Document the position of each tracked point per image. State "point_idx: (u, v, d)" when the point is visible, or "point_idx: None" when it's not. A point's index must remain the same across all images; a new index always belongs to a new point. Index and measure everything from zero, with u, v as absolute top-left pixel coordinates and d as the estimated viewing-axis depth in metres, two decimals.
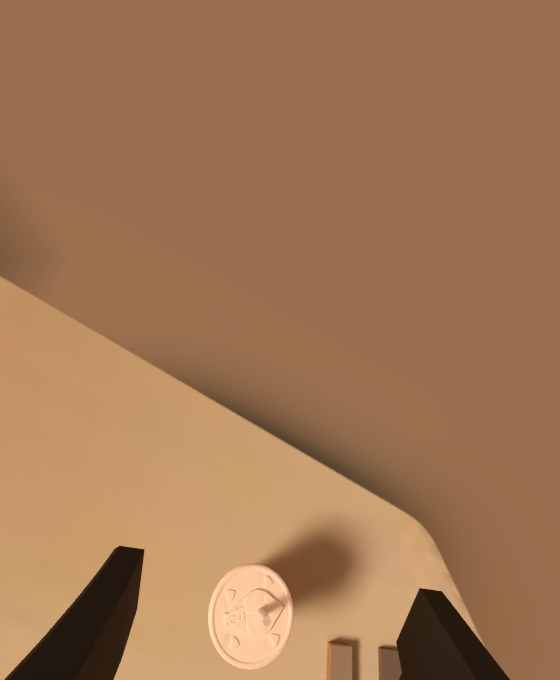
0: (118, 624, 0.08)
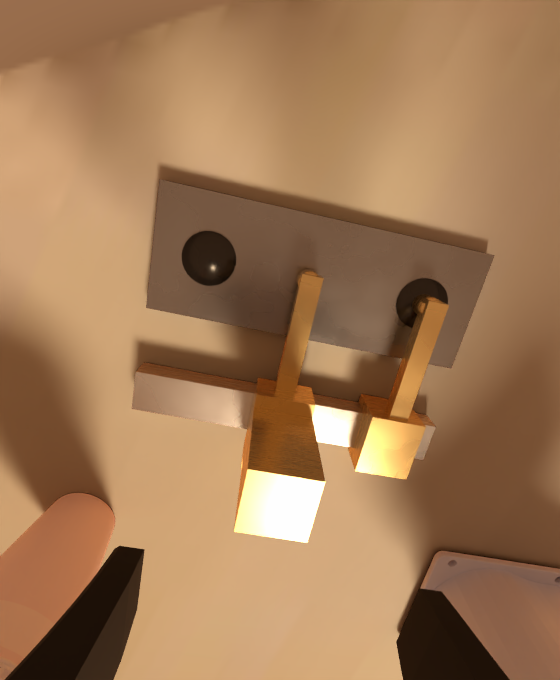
0: (118, 624, 0.08)
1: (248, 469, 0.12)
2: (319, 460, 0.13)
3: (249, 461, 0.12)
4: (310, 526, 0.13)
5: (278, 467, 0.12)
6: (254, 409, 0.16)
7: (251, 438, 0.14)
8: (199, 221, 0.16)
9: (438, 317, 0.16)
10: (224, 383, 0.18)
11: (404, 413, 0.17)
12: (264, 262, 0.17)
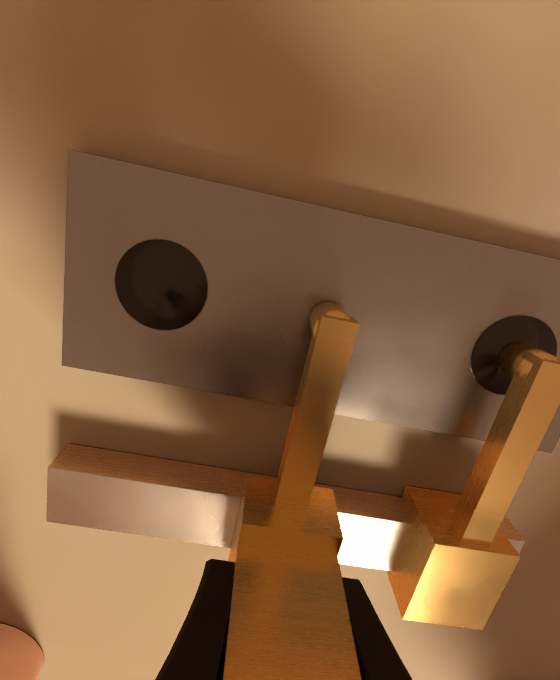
0: None
1: None
2: None
3: None
4: None
5: None
6: (238, 548, 0.09)
7: (228, 646, 0.07)
8: (142, 224, 0.09)
9: (556, 387, 0.09)
10: (194, 478, 0.12)
11: (486, 535, 0.11)
12: (255, 291, 0.10)
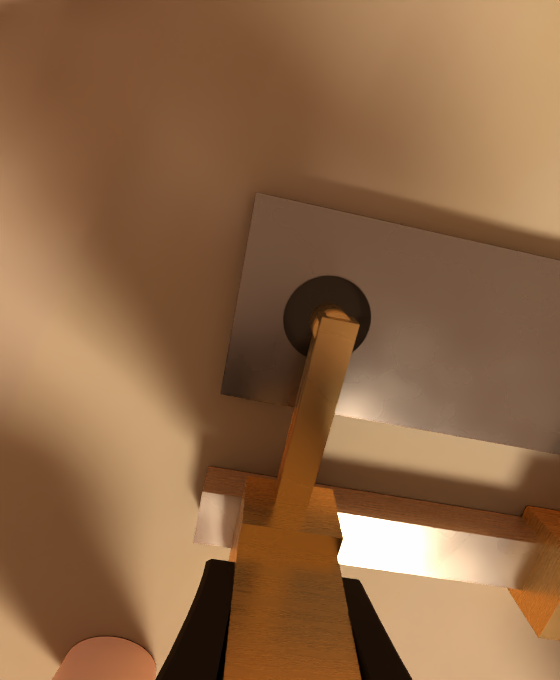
0: None
1: None
2: None
3: None
4: None
5: None
6: (238, 548, 0.09)
7: (228, 645, 0.07)
8: (316, 261, 0.10)
9: None
10: None
11: None
12: (415, 324, 0.10)
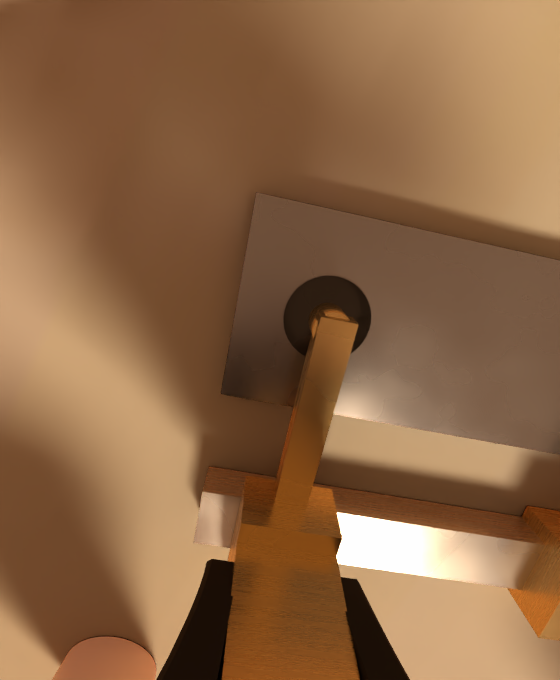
0: None
1: None
2: None
3: None
4: None
5: None
6: (237, 548, 0.09)
7: (227, 645, 0.07)
8: (317, 261, 0.10)
9: None
10: None
11: None
12: (415, 324, 0.10)
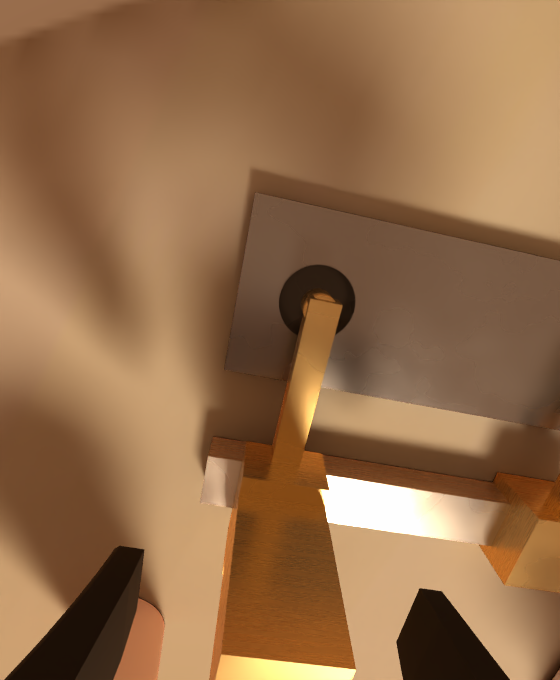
0: (118, 624, 0.08)
1: (222, 654, 0.07)
2: (342, 609, 0.08)
3: (225, 630, 0.07)
4: None
5: (274, 639, 0.07)
6: (239, 498, 0.11)
7: (232, 567, 0.09)
8: (307, 252, 0.11)
9: None
10: None
11: None
12: (394, 307, 0.12)
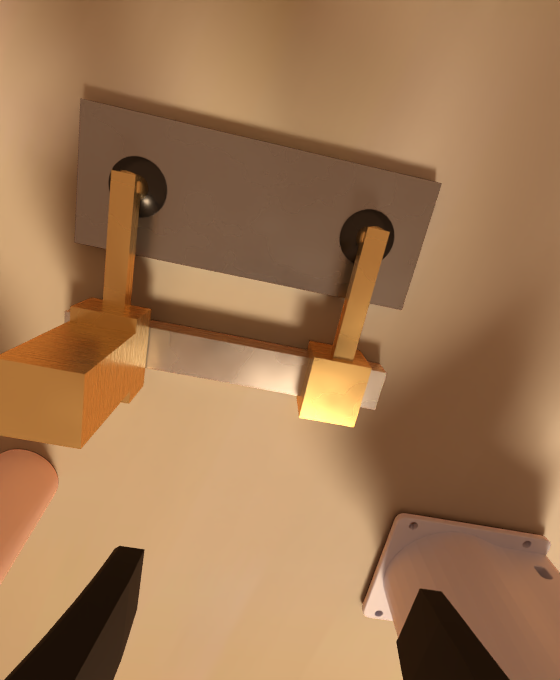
0: (118, 624, 0.08)
1: None
2: (100, 360, 0.12)
3: (4, 353, 0.11)
4: (80, 429, 0.11)
5: (37, 359, 0.11)
6: (68, 322, 0.15)
7: (33, 339, 0.12)
8: (125, 146, 0.15)
9: (379, 245, 0.15)
10: (161, 326, 0.17)
11: (349, 354, 0.16)
12: (197, 191, 0.16)
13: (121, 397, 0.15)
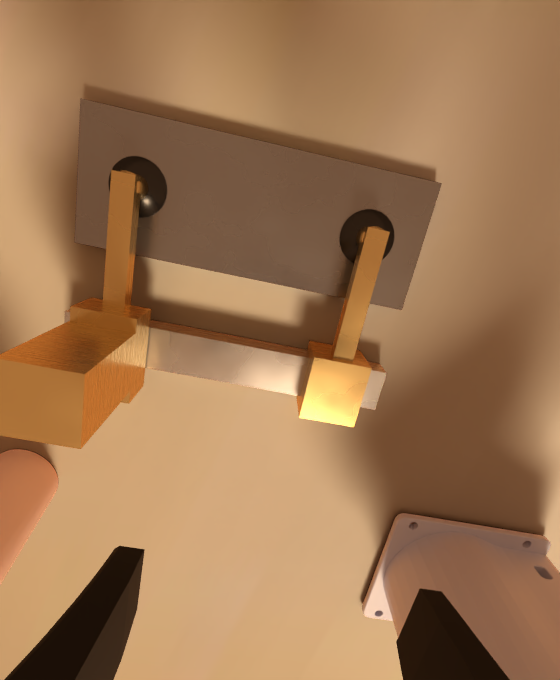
0: (118, 624, 0.08)
1: None
2: (100, 360, 0.12)
3: (4, 353, 0.11)
4: (80, 429, 0.11)
5: (37, 359, 0.11)
6: (68, 322, 0.15)
7: (33, 339, 0.12)
8: (125, 146, 0.15)
9: (379, 245, 0.15)
10: (161, 326, 0.17)
11: (349, 354, 0.16)
12: (197, 191, 0.16)
13: (121, 397, 0.15)
